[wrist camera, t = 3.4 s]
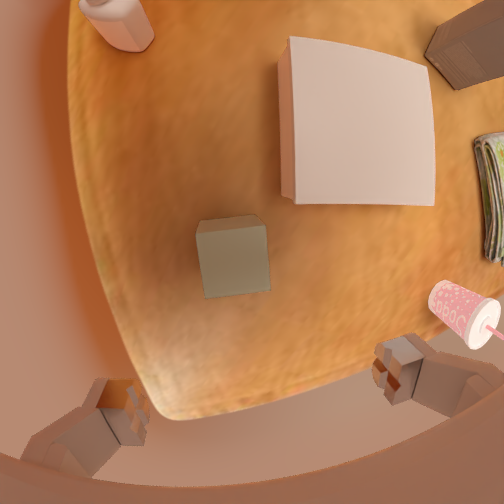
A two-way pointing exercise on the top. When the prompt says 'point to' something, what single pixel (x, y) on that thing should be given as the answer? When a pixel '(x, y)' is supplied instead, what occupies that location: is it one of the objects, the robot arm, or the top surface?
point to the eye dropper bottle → (120, 23)
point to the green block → (233, 256)
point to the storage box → (354, 126)
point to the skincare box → (470, 45)
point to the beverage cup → (465, 312)
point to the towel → (492, 192)
